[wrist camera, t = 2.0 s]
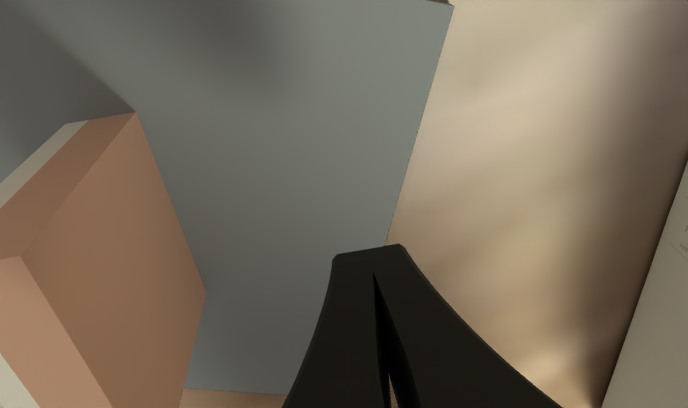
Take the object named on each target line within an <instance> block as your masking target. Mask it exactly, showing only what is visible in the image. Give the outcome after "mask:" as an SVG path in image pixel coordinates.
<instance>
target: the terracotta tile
mask: <svg viewBox="0 0 688 408" xmlns="http://www.w3.org/2000/svg"><path fill="white" fill-rule="evenodd" d="M205 296H206V291H205V288H204V286H203V283H202V280H201V278H200V275H199V273H198V270H197V268H196V265H195V262H194V260H193V257H192V255H191V252H190V250H189V247H188V244H187V242H186V239H185V237H184V234H183V232H182V229H181V226H180V224H179V221H178V219H177V216H176V213H175V211H174V208H173V206H172V203H171V201H170V198H169V195H168V193H167V190H166V188H165V185H164V183H163V180H162V177H161V175H160V172H159V170H158V167H157V164H156V162H155V159H154V157H153V154H152V152H151V149H150V146H149V144H148V141H147V139H146V136H145V134H144V131H143V128H142V126H141V123H140V121H139V118H138V115H137V113H136V112H132V113H126V114H120V115H114V116H109V117H103V118H97V119H91V120H85V121H80V122H74V123H68V124H65V125H64V126H62V127H61V128H60V129H59V130H58V131H57V132H56V133H55V134H54V135H53V136H52V137H50V138H49V139H48V140H47V141H46V142H45V143H44V144H43V145H42V146H41V147H40V148H38V149H37V150H36V151H35V152H34V153H33V154H32V155H31V156H30V157H29V158H28V159H26V160H25V161H24V162H23V163H22V164H21V165H20V166H19V167H18V168H17V169H16V170H14V171H13V172H12V173H11V174H10V175H9V176H8V177H7V178H6V179H5V180H4V181H2V182H1V183H0V405H1V406H2V407H3V408H179V404H180V400H181V396H182V392H183V387H184V383H185V379H186V375H187V371H188V367H189V362H190V358H191V354H192V350H193V346H194V342H195V338H196V333H197V329H198V325H199V321H200V317H201V313H202V309H203V304H204V300H205Z"/></svg>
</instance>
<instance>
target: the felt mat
mask: <svg viewBox="0 0 688 408" xmlns="http://www.w3.org/2000/svg"><path fill="white" fill-rule="evenodd" d="M453 10H454V6H453V5H451V4H449V3H445V2H440V1H435V0H0V183H1V182H2V181H4V180H5V179H6V178H7V177H8V176H9V175H10V174H11V173H12V172H13V171H14V170H16V169H17V168H18V167H19V166H20V165H21V164H22V163H23V162H24V161H25V160H26V159H28V158H29V157H30V156H31V155H32V154H33V153H34V152H35V151H36V150H37V149H38V148H40V147H41V146H42V145H43V144H44V143H45V142H46V141H47V140H48V139H49V138H50V137H52V136H53V135H54V134H55V133H56V132H57V131H58V130H59V129H60V128H61V127H62V126H64V125H65V124H68V123H74V122H80V121H85V120H91V119H97V118H103V117H109V116H114V115H120V114H126V113H132V112H136V113H137V115H138V118H139V121H140V123H141V126H142V128H143V131H144V134H145V136H146V139H147V141H148V144H149V146H150V149H151V152H152V154H153V157H154V159H155V162H156V164H157V167H158V170H159V172H160V175H161V177H162V180H163V183H164V185H165V188H166V190H167V193H168V195H169V198H170V201H171V203H172V206H173V208H174V211H175V213H176V216H177V219H178V221H179V224H180V226H181V229H182V232H183V234H184V237H185V239H186V242H187V244H188V247H189V250H190V252H191V255H192V257H193V260H194V262H195V265H196V268H197V270H198V273H199V275H200V278H201V280H202V283H203V286H204V288H205V291H206V296H205V300H204V304H203V309H202V313H201V317H200V321H199V325H198V329H197V333H196V338H195V342H194V346H193V350H192V354H191V358H190V362H189V367H188V371H187V375H186V379H185V383H184V387H183V388H189V389H204V390H219V391H234V392H249V393H264V394H279V395H288V394H289V392H290V390H291V388H292V385H293V383H294V381H295V379H296V377H297V374H298V372H299V369H300V367H301V364H302V362H303V359H304V357H305V355H306V352H307V350H308V347H309V345H310V342H311V339H312V337H313V334H314V331H315V328H316V325H317V322H318V319H319V316H320V313H321V310H322V307H323V303H324V300H325V296H326V292H327V288H328V284H329V279H330V274H331V268H332V259H333V258H334V257H335V256H336V255H337V254H341V253H347V252H353V251H359V250H364V249H370V248H376V247H382V246H384V245H385V242H386V238H387V235H388V231H389V228H390V225H391V221H392V218H393V214H394V211H395V208H396V204H397V201H398V197H399V194H400V191H401V187H402V184H403V180H404V177H405V173H406V170H407V167H408V163H409V160H410V156H411V153H412V150H413V146H414V143H415V139H416V136H417V133H418V129H419V126H420V122H421V119H422V116H423V112H424V109H425V105H426V102H427V98H428V95H429V92H430V88H431V85H432V81H433V78H434V75H435V71H436V68H437V64H438V61H439V58H440V54H441V51H442V47H443V44H444V41H445V37H446V34H447V30H448V27H449V23H450V20H451V17H452V13H453Z"/></svg>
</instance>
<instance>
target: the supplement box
mask: <svg viewBox="0 0 688 408" xmlns="http://www.w3.org/2000/svg"><path fill="white" fill-rule="evenodd" d="M601 408H688V162H687V164H686V167H685V170H684V173H683V176H682V179H681V182H680V185H679V188H678V191H677V193H676V196H675V199H674V202H673V204H672V207H671V210H670V212H669V215H668V218H667V221H666V224H665V227H664V230H663V233H662V236H661V239H660V242H659V244H658V247H657V250H656V253H655V256H654V259H653V262H652V265H651V267H650V270H649V273H648V276H647V279H646V282H645V285H644V287H643V290H642V293H641V296H640V299H639V302H638V305H637V307H636V310H635V313H634V316H633V319H632V322H631V324H630V327H629V330H628V333H627V335H626V338H625V341H624V344H623V347H622V350H621V353H620V356H619V359H618V362H617V364H616V367H615V370H614V373H613V376H612V379H611V381H610V384H609V387H608V390H607V393H606V396H605V399H604V402H603V404H602V407H601Z"/></svg>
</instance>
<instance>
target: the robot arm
mask: <svg viewBox="0 0 688 408" xmlns="http://www.w3.org/2000/svg"><path fill="white" fill-rule="evenodd" d="M388 373H389V374H388ZM389 376H390V380H391V383H392V387H393V390H394V394H395V397H396V400H397V404H398V407H399V408H562V407H561V406H560V405H559V404H557V403H556V402H555V401H553V400H552V399H551V398H550V397H548V396H547V395H546V394H544V393H543V392H542V391H541V390H539V389H538V388H537V387H536V386H534V385H533V384H532V383H531V382H530V381H528V380H527V379H526V378H525V377H524V376H522V375H521V374H520V373H519V372H518V371H517V370H515V369H514V368H513V367H512V366H511V365H510V364H509V363H507V362H506V361H505V360H504V359H503V358H502V357H501V356H500V355H499V354H497V353H496V352H495V351H494V350H493V349H492V348H491V347H490V346H489V345H488V344H487V343H486V342H485V341H484V340H483V339H482V338H481V337H480V336H479V335H478V334H477V333H475V332H474V331H473V330H472V329H471V328H470V326H469V325H468V324H467V323H466V322H465V321H464V320H463V319H462V318H461V317H460V316H459V315H458V314H457V313H456V312H455V311H454V310H453V308H452V307H451V306H450V305H449V304H448V303H447V302H446V301H445V300H444V299H443V297H442V296H441V295H440V294H439V293H438V292H437V291H436V289H435V288H434V287H433V286H432V285H431V283H430V282H429V281H428V280H427V278H426V277H425V276H424V275H423V273H422V272H421V271H420V269H419V268H418V267H417V265H416V264H415V263H414V261H413V260H412V258H411V257H410V255H409V254H408V252H407V250H406V249H405V247H403V246H402V245H400V244H394V245H388V246H382V247H376V248H370V249H364V250H359V251H353V252H347V253H341V254H337V255H336V256H335V257H334V258H333V259H332V268H331V274H330V279H329V284H328V288H327V292H326V296H325V300H324V303H323V307H322V310H321V313H320V316H319V319H318V322H317V325H316V328H315V331H314V334H313V337H312V339H311V342H310V345H309V347H308V350H307V352H306V355H305V357H304V359H303V362H302V364H301V367H300V369H299V372H298V374H297V377H296V379H295V381H294V383H293V385H292V388H291V390H290V392H289V394H288V396H287V398H286V400H285V402H284V405H283V407H282V408H392V407H391V396H390V385H389Z"/></svg>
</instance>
